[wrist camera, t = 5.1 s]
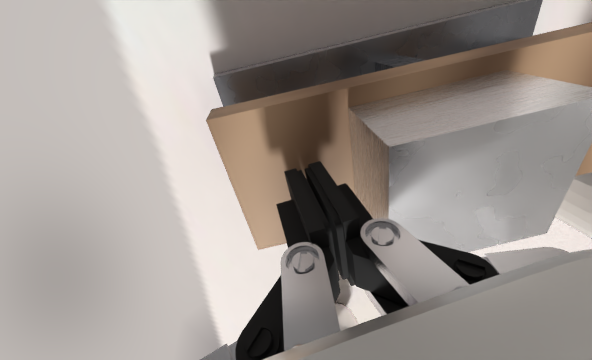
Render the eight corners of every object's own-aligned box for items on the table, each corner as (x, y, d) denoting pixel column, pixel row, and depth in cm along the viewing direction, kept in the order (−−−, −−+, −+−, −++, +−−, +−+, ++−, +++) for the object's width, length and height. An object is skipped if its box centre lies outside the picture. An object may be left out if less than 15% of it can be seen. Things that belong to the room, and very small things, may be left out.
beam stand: (527, -2, 19) (677, -16, 13) (497, 112, 24) (594, 144, 18) (214, 74, 17) (204, 103, 11) (251, 182, 22) (260, 246, 16)
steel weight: (506, 69, 11) (616, 92, 8) (478, 182, 14) (546, 233, 11) (348, 107, 11) (389, 146, 8) (356, 211, 14) (388, 271, 11)
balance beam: (714, -6, 12) (769, -10, 11) (624, 146, 16) (655, 157, 15) (211, 109, 12) (206, 120, 10) (258, 231, 16) (258, 249, 15)
